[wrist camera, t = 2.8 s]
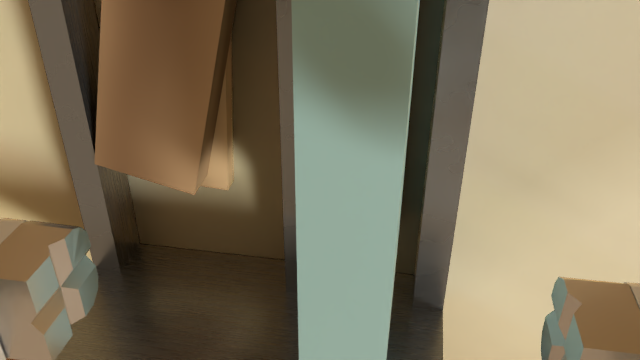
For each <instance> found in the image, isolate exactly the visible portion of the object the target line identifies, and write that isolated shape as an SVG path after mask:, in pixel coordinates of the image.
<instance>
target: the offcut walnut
mask: <svg viewBox="0 0 640 360" xmlns="http://www.w3.org/2000/svg"><path fill="white" fill-rule="evenodd" d="M236 3H237V0H102V1H101V24H100V47H99V71H98V94H97V117H96V141H95V164H96V165H99V166H102V167H106V168H109V169H112V170H115V171H119V172H122V173H125V174H128V175H132V176H135V177H138V178H141V179H144V180H148V181H151V182H154V183H157V184H161V185H164V186H167V187H170V188H174V189H177V190H180V191H183V192H187V193H190V194H193V195H195V193H196V192H197V190H198V189H199V187H200V186H201V184H202V183H203V181H204V180H205V178H206V176H207V175H208V169H209V163H210V157H211V151H212V145H213V139H214V133H215V127H216V121H217V115H218V110H219V104H220V98H221V92H222V86H223V80H224V74H225V68H226V62H227V56H228V51H229V45H230V39H231V33H232V27H233V21H234V15H235V9H236Z"/></svg>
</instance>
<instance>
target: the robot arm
mask: <svg viewBox="0 0 640 360" xmlns="http://www.w3.org/2000/svg"><path fill="white" fill-rule="evenodd" d="M90 247H91V244H90V241H89V237H88V234H87V231H86V230H84V229H82V228H81V227H76V226H68V225H61V224H53V223H45V222H37V221H26V220H18V219H10V218H4V219H0V360H6V358H9V359H18V360H55V359H56V358H57V357H58V355H59V354H60V352H61V351H62V349H63V348H64V347H65V345H66V344H67V342H68V341H69V340H70V338H71V337H72V335H73V333H72V327H71V324H73V323H75V322H77V321H78V320H80V319H82V318H84V317H86V315H87V314H88V312H89V311H90V309H91V308H92V306H93V305H94V301H95V298H96V295H97V291H98V273H97V268H96V265H95V264H94V263H93V262H92V261H91V260H90V259H89V258H88V257H87V256H86V253H87V252H88V250H89V249H90ZM551 296H552V301H553V305H554V309H555V310H554V311H552V312H551V313H550V314H548V315H547V316H546V317H545V322H544V326H543V330H542V340H541V356H542V360H640V284H639V283H626V282H625V283H616V282H606V281H596V280H586V279H576V278H566V277H558V279H557V281H556V282H555V285H554V288H553V292H552V295H551Z"/></svg>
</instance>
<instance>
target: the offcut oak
mask: <svg viewBox="0 0 640 360" xmlns="http://www.w3.org/2000/svg"><path fill="white" fill-rule="evenodd" d="M233 181H234V173H233V106H232V39H230V45H229V51H228V56H227V62H226V68H225V74H224V80H223V86H222V92H221V98H220V104H219V110H218V115H217V121H216V127H215V133H214V139H213V145H212V151H211V157H210V163H209V169H208V175H207V176H206V178H205V180H204V181H203V183H202V184H201V186H204V187H211V188H217V189H224V190H228V189H229V188H230V186H231V184H232V182H233Z"/></svg>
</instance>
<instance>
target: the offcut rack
mask: <svg viewBox="0 0 640 360" xmlns="http://www.w3.org/2000/svg"><path fill="white" fill-rule="evenodd" d="M28 2H29V6H30V10H31V14H32V18H33V22H34V26H35V30H36V34H37V38H38V42H39V46H40V50H41V54H42V58H43V62H44V66H45V70H46V75H47V79H48V83H49V87H50V91H51V95H52V99H53V103H54V107H55V111H56V115H57V119H58V123H59V127H60V131H61V135H62V139H63V143H64V147H65V151H66V155H67V159H68V163H69V167H70V171H71V176H72V180H73V184H74V188H75V192H76V196H77V200H78V204H79V208H80V212H81V216H82V220H83V224H84V228H85V230H86V231H87V234H88V237H89V241H90V244H91V247H90V252H91V256H92V260H93V263H94V264H95V265H96V268H97V273H98V291H97V295H96V298H95V301H94V305H93V306H92V308H91V309H90V311H89V312H88V314H87V315H86V317H84V318H82V319H80V320H78V321H77V322H75V323H73V324H71V327H72V333H73V335H72V337H71V338H70V340H69V341H68V342H67V344H66V345H65V347H64V348H63V349H62V351H61V352H60V354H59V355H58V357H57V358H56V359H55V360H299V341H298V293H297V245H296V197H295V148H294V100H293V52H292V4H291V0H276V18H277V47H278V76H279V106H280V135H281V165H282V194H283V223H284V253H285V260H278V259H269V258H261V257H252V256H243V255H234V254H225V253H216V252H207V251H199V250H190V249H181V248H172V247H163V246H154V245H145V244H140V241H139V236H138V231H137V225H136V220H135V215H134V210H133V204H132V199H131V194H130V189H129V184H128V178H127V174H125V173H122V172H119V171H115V170H112V169H109V168H106V167H102V166H99V165H96V164H95V141H96V117H97V94H98V71H99V47H100V32H99V27H98V21H97V16H96V11H95V6H94V1H93V0H28ZM488 4H489V0H445V2H444V11H443V20H442V29H441V38H440V47H439V56H438V65H437V74H436V83H435V92H434V101H433V110H432V119H431V128H430V137H429V146H428V155H427V164H426V173H425V182H424V191H423V200H422V209H421V218H420V226H419V235H418V244H417V253H416V262H415V271H414V275H411V274H402V273H395V278H394V288H393V298H392V308H391V318H390V328H389V338H388V349H387V359H386V360H443V305H444V298H445V291H446V285H447V278H448V271H449V265H450V258H451V251H452V245H453V238H454V231H455V224H456V218H457V211H458V204H459V198H460V191H461V184H462V178H463V171H464V164H465V158H466V151H467V144H468V138H469V131H470V124H471V118H472V111H473V104H474V98H475V91H476V84H477V78H478V71H479V64H480V57H481V51H482V44H483V37H484V31H485V24H486V17H487V11H488Z"/></svg>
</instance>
